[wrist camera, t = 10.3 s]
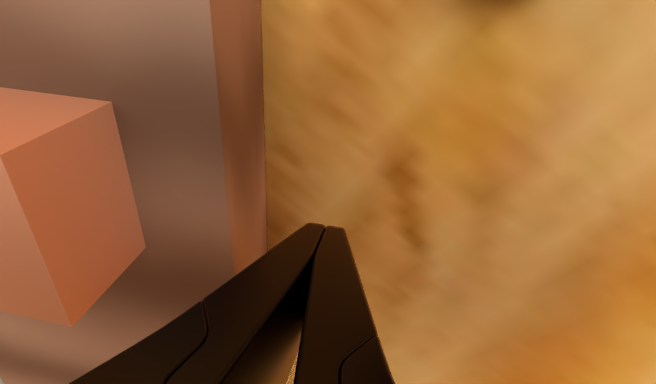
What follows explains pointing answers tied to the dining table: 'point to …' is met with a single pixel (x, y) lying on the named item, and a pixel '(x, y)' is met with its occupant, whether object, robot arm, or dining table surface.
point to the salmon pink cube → (62, 205)
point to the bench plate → (150, 157)
